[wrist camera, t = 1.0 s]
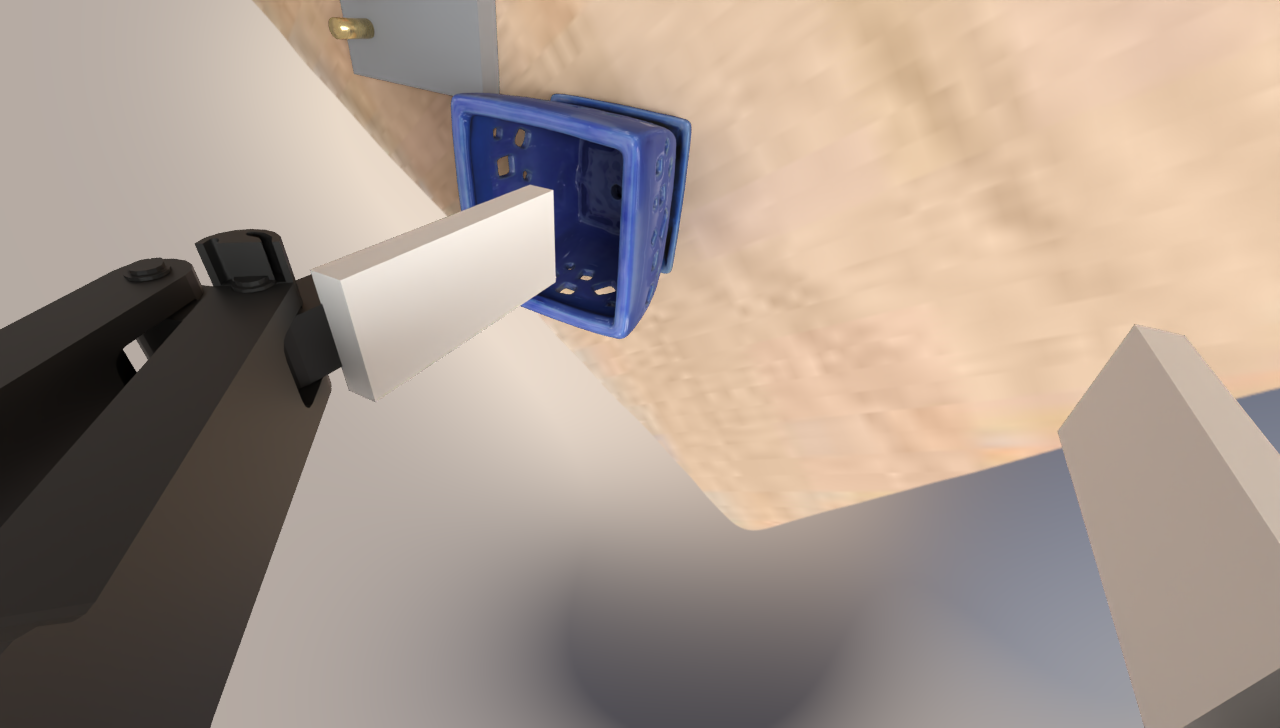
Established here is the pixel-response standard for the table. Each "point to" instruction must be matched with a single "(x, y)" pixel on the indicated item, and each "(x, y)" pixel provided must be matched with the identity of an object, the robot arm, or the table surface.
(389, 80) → the post base
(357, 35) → the dowel pin
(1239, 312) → the table surface
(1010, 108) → the table surface
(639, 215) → the flower pot
